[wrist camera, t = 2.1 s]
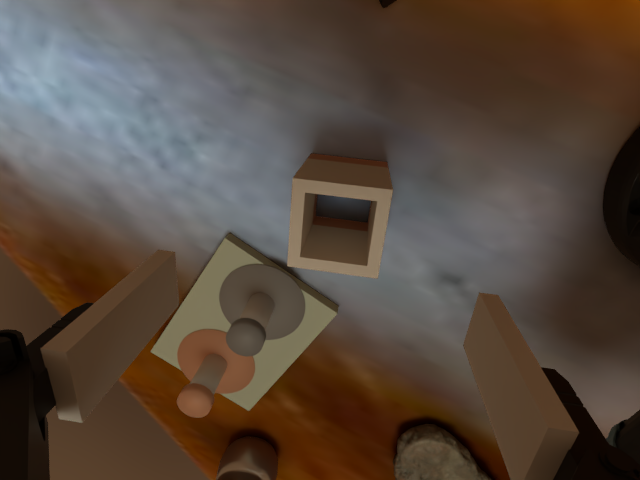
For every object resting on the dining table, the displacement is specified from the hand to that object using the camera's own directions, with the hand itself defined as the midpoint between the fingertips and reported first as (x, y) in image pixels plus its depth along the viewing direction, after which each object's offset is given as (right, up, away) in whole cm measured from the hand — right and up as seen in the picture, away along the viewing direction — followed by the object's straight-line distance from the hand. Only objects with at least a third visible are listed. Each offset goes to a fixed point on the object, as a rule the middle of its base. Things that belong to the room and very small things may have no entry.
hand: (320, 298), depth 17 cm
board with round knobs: (-8, -6, +21) cm, 23 cm away
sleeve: (+2, +6, +15) cm, 16 cm away
